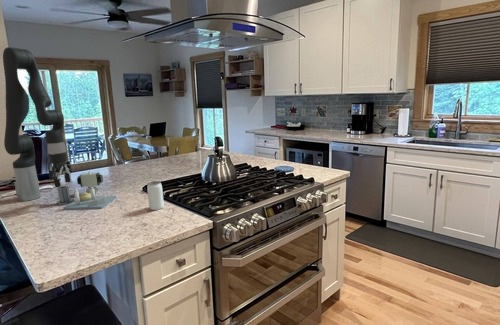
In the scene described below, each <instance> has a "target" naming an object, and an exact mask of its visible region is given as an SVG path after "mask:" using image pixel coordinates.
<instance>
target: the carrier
mask: <svg viewBox="0 0 500 325" xmlns="http://www.w3.org/2000/svg"><path fill="white" fill-rule="evenodd" d="M90 192H91V194H90V193H86V192H84V193H82V194H80V193H79V190H78V189H77V188H75V189H74V192H73V196H74V202H72V203H70V204H68V205H64V206H63V207H62V210H64V211H66V210H69V211H70V210H96V209H97V210H102V209H104V207H106V206H108V205H109V204H110V203H111V202H113V201H114V200H115V199H117V195H109V194H108V195H98V196H96V193H95V191H94V189H93V187H91V189H90Z"/></svg>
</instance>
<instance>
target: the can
mask: <svg viewBox="0 0 500 325" xmlns="http://www.w3.org/2000/svg"><path fill="white" fill-rule="evenodd" d="M146 189H147V198H148V207H149V210H151V211H158V210H161V209H163V208H164V207H165V204H164V193H163V186H162V183H161V181H160V180H156V181H155V180H154V181H153V180H152V181H149V182H148V183H147V188H146Z"/></svg>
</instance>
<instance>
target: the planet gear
mask: <svg viewBox="0 0 500 325" xmlns="http://www.w3.org/2000/svg"><path fill="white" fill-rule="evenodd" d="M57 194H58V199H59V200H57V201H56V202H55V205H56V206H67V205H69V204H70V203H72V202H74V201H75V198H71V196H70V190H69V186H67V185H63V186H60V187H57Z"/></svg>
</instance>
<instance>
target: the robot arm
mask: <svg viewBox="0 0 500 325" xmlns="http://www.w3.org/2000/svg"><path fill="white" fill-rule="evenodd" d="M2 64H3V72H4V81H5V130H4V131H5V132H4V140H3V142H4V144H3V145H4V149H5V151H6V153H7V154H9V155H11V156H16V155H19V157H18V158H17V159H16V160H14V161H12V168H13V172H14V178H15V181H14V183H13V184H14V187H15V188H14V189H15V193H16V197H17V201H20V202H27V201H28V202H29V201H33V200H37V199H40V198H41V191H40V184H39V178H38V174H37V173H38V172H37V168H36V153H35V152H36V151H35V144H34V141H33V139H32V138H31V136H30V135H27V134H20V129H21V126H22V124H23V123H24V121H25V120H26V118H27V116H28V114H29V111H30V99H31V101H32V103H33V104H34V108H35V112H36V119H37V122H38V123H39V124H40V125H42V126H43V127H44V126H52V128H51V129H49V130H47V131H45V140H46V149H47V155H48V160H49V163H51V164H52V166H48V167H47V169H48V176H49V180H53V182H54V187H55V188H58V187H62V186H61V181H60V176H61V175H62V174H63V175H64V181H65V183H70V182H71V181H72V180H71V173H73V170H72V164H71V161H70V160H69V159H68V158H69V157H68V155H67V148H66V144H65V140H64V133H63V131H64V123H65V116H64V114H63V112H62V111H61V110H59V109H47V108H49V107H51V105H52V104H53V101H52V99H51V98H50V95H49V94H48V92H47V90H46V88H45V86H44V84H43V80H42V78H41V74H40V71H39V68H38V65H37V62H36V59H35V56H34V55H33V53H32V52H31V51H30V50H28V49H25V48H17V47H11V46H9V47H6V48H4V50H3V52H2ZM18 70H26V72H27V74H28V76H29V81H28V86H27V90H28V93H27V90H25V88H24V87H23V85H22V84H21V81H20V79H19V75H18Z"/></svg>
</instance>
